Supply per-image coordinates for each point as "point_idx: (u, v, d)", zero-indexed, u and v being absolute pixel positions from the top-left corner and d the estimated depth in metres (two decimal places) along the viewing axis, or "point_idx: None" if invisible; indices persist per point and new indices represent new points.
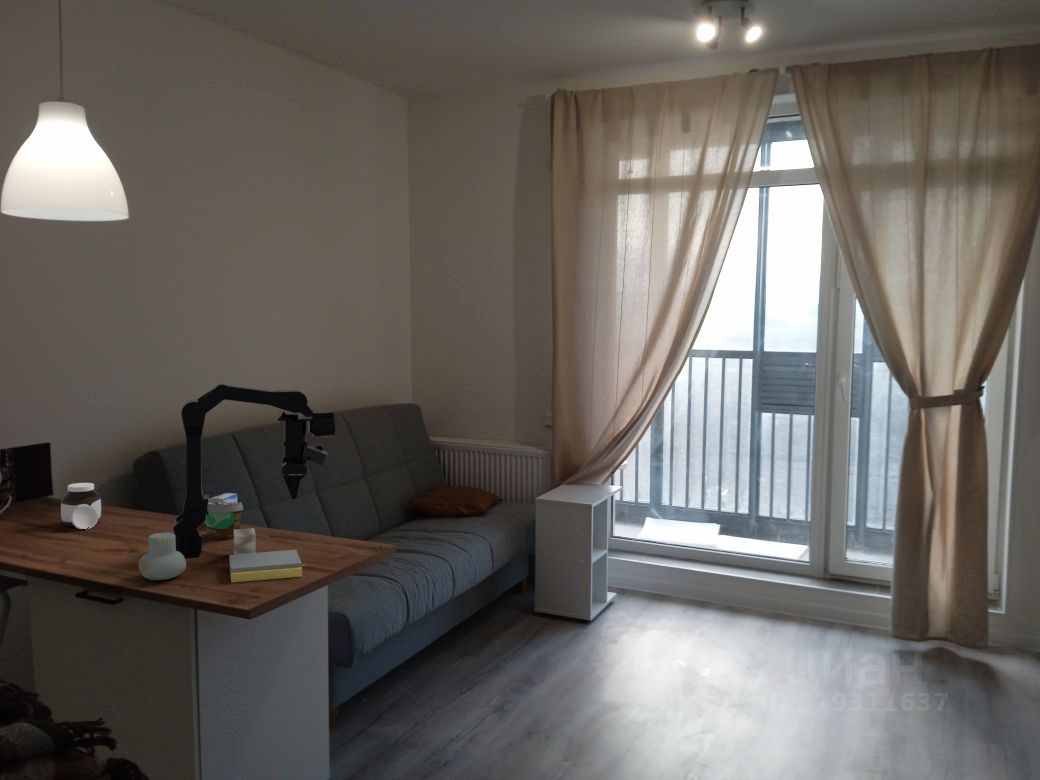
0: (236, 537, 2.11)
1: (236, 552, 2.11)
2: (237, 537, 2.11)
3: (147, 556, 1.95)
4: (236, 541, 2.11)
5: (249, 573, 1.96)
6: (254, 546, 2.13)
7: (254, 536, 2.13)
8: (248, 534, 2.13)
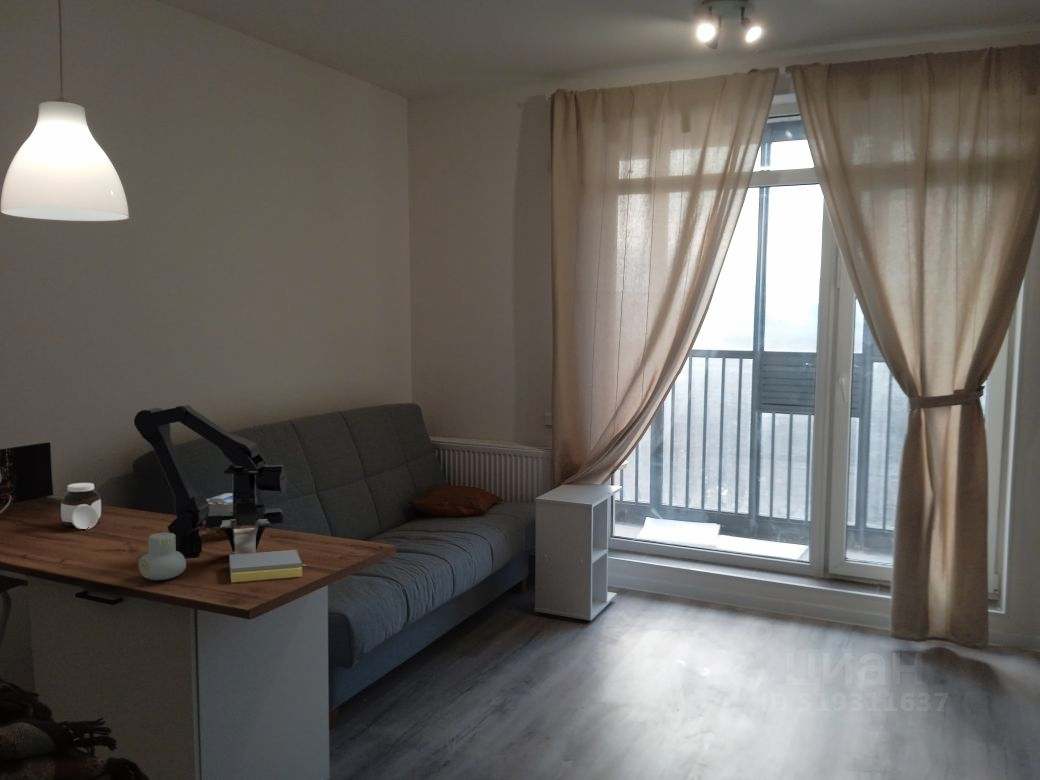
0: (236, 537, 2.11)
1: (236, 552, 2.11)
2: (237, 537, 2.11)
3: (147, 556, 1.95)
4: (236, 541, 2.11)
5: (249, 573, 1.96)
6: (254, 546, 2.13)
7: (254, 536, 2.13)
8: (248, 534, 2.13)
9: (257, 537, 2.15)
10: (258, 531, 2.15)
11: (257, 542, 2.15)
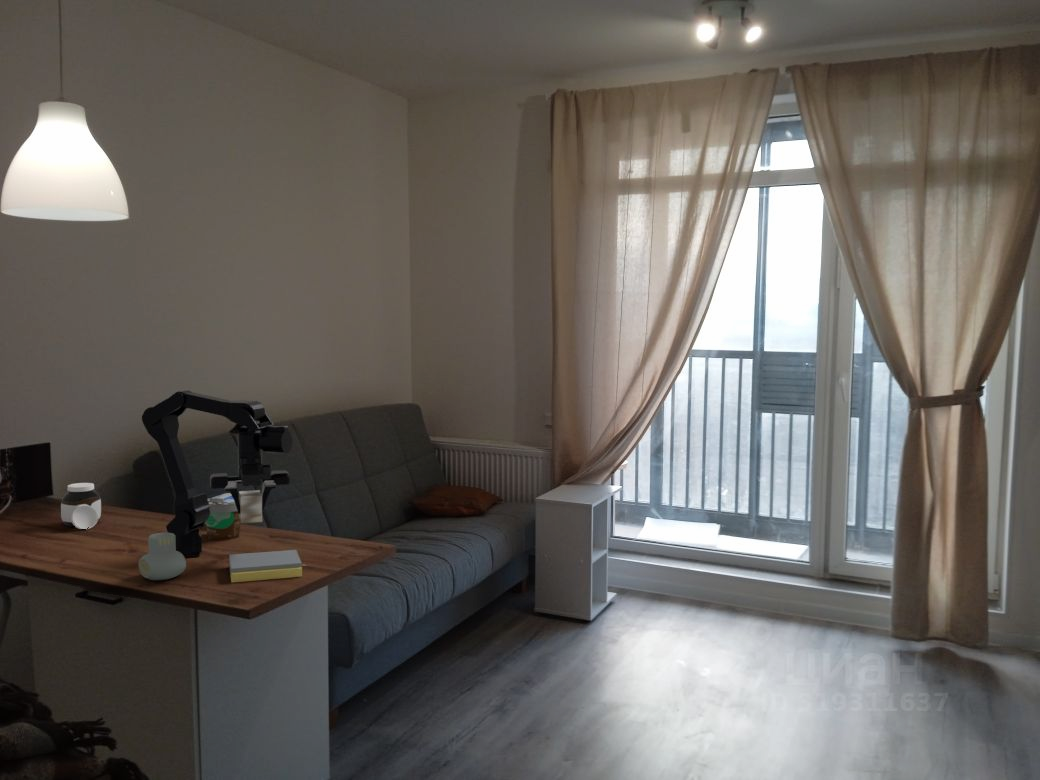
0: (242, 498, 2.07)
1: (242, 513, 2.07)
2: (243, 498, 2.07)
3: (147, 556, 1.95)
4: (242, 502, 2.07)
5: (249, 573, 1.96)
6: (260, 507, 2.09)
7: (260, 497, 2.09)
8: (254, 495, 2.09)
9: (263, 499, 2.11)
10: (264, 493, 2.11)
11: (263, 504, 2.11)
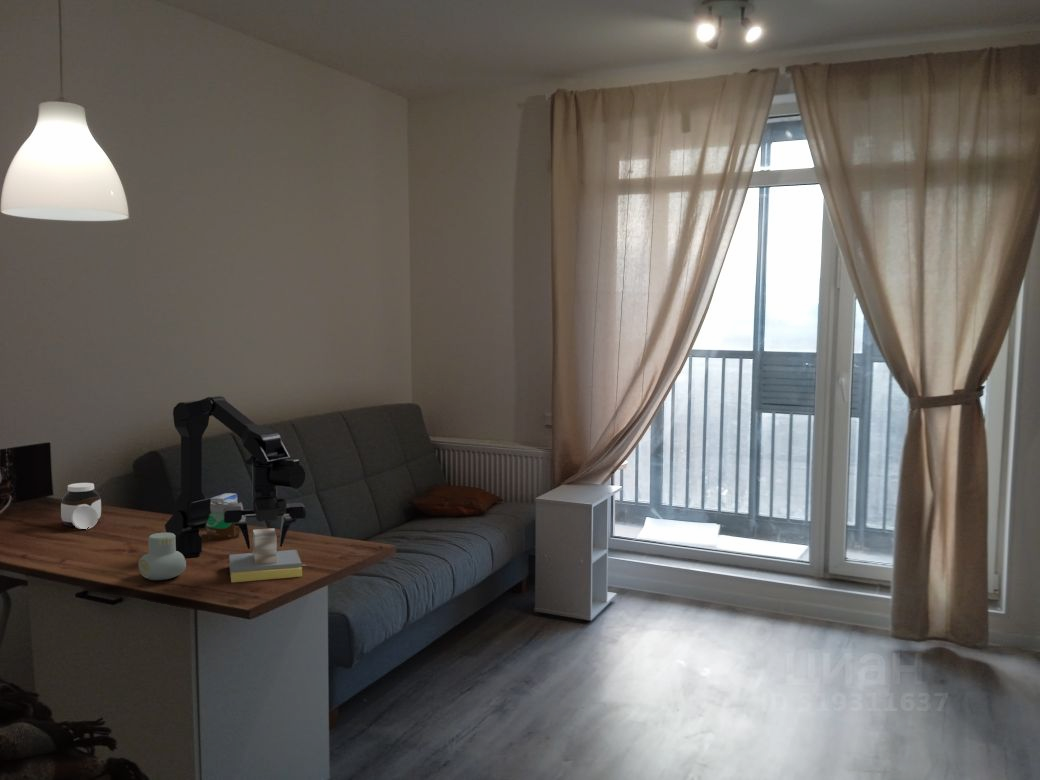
0: (256, 538, 1.99)
1: (256, 553, 2.00)
2: (257, 538, 1.99)
3: (147, 556, 1.95)
4: (256, 542, 1.99)
5: (249, 573, 1.96)
6: (275, 547, 2.01)
7: (275, 537, 2.01)
8: (269, 534, 2.01)
9: (283, 533, 2.04)
10: (284, 526, 2.03)
11: (282, 538, 2.04)
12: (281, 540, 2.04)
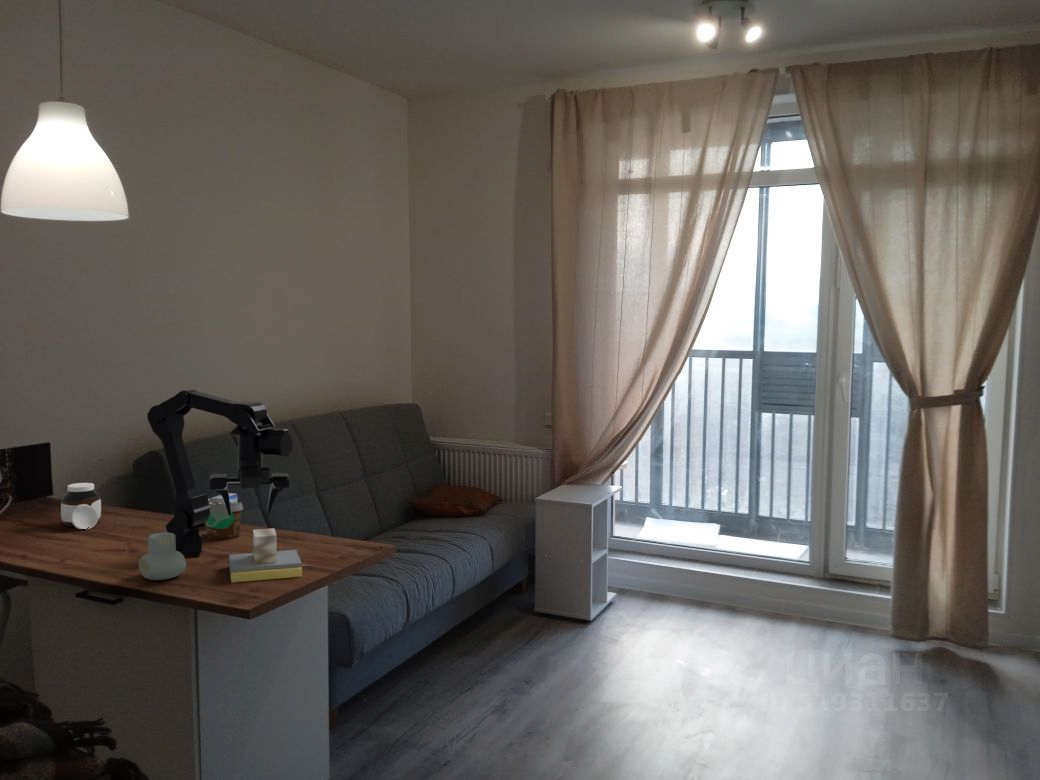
0: (256, 538, 1.99)
1: (256, 553, 2.00)
2: (257, 538, 1.99)
3: (147, 556, 1.95)
4: (256, 542, 1.99)
5: (249, 573, 1.96)
6: (275, 547, 2.01)
7: (275, 537, 2.01)
8: (269, 534, 2.01)
9: (270, 501, 2.10)
10: (271, 495, 2.10)
11: (270, 506, 2.10)
12: (269, 508, 2.11)
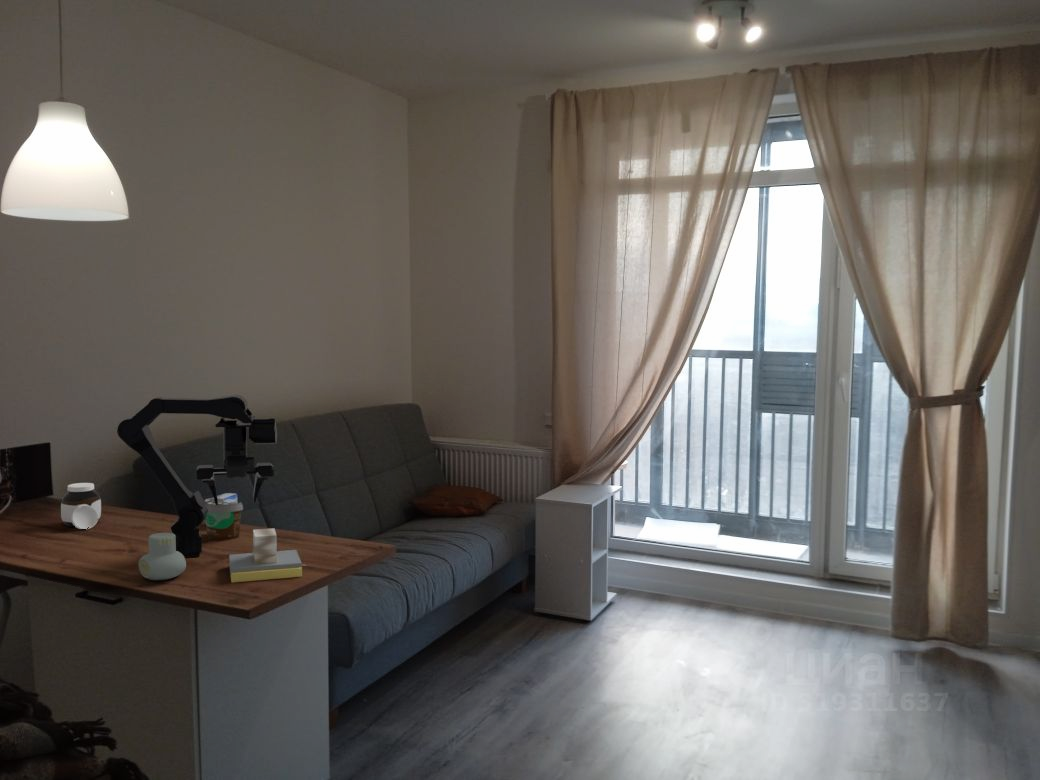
0: (256, 538, 1.99)
1: (256, 553, 2.00)
2: (257, 538, 1.99)
3: (147, 556, 1.95)
4: (256, 542, 1.99)
5: (249, 573, 1.96)
6: (275, 547, 2.01)
7: (275, 537, 2.01)
8: (269, 534, 2.01)
9: (256, 490, 2.18)
10: (257, 484, 2.17)
11: (256, 495, 2.18)
12: (254, 497, 2.18)
